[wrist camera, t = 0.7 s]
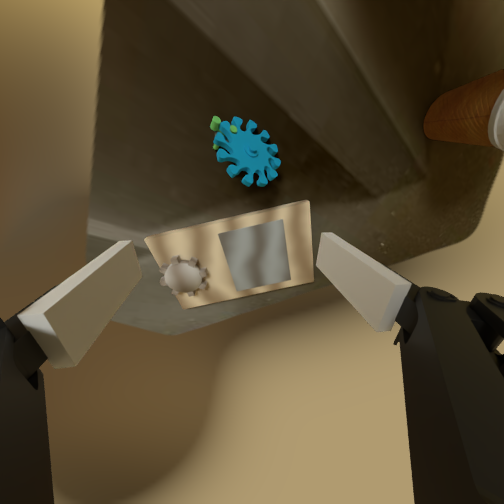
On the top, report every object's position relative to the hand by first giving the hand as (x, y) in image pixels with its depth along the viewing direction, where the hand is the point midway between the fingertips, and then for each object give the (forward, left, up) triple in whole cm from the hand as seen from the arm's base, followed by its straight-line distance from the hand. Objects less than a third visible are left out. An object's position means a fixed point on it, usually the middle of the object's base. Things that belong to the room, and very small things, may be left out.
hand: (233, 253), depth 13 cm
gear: (-3, -6, -22) cm, 23 cm away
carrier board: (+3, +13, -21) cm, 25 cm away
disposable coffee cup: (-34, -4, -22) cm, 41 cm away
